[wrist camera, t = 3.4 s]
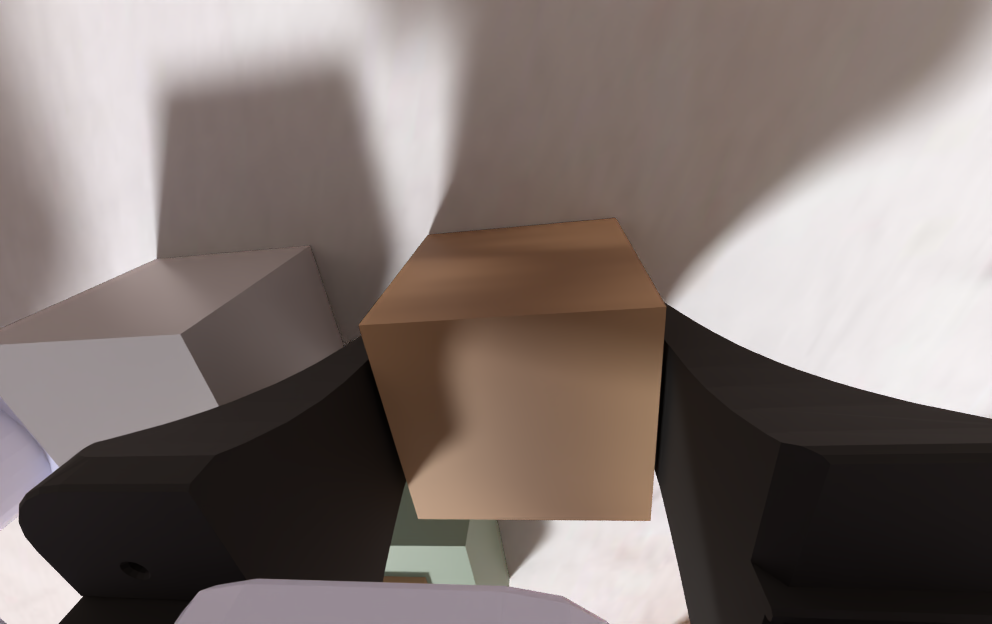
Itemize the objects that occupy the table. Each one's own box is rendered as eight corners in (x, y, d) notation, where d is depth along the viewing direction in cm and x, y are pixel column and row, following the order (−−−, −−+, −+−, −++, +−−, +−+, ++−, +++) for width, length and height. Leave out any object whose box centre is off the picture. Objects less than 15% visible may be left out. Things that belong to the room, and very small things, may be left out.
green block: (344, 570, 20) (298, 680, 16) (283, 447, 17) (206, 553, 13) (509, 572, 19) (501, 693, 15) (483, 441, 15) (463, 556, 12)
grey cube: (226, 388, 15) (97, 512, 11) (159, 258, 13) (-41, 347, 8) (357, 384, 14) (276, 514, 10) (311, 244, 12) (179, 334, 8)
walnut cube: (457, 381, 14) (418, 519, 9) (428, 234, 12) (357, 324, 7) (614, 375, 13) (650, 520, 9) (615, 217, 11) (666, 306, 6)
